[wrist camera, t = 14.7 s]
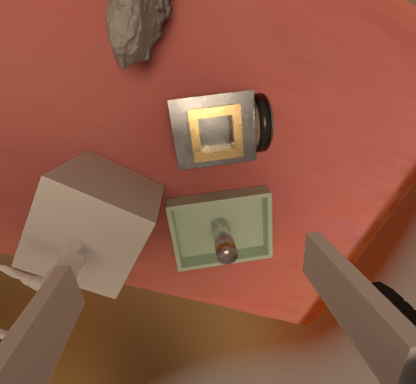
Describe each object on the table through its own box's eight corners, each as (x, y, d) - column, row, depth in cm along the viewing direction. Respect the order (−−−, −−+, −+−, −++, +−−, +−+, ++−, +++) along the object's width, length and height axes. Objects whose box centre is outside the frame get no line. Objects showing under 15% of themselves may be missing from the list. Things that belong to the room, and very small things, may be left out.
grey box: (164, 185, 45) (143, 279, 22) (128, 256, 50) (79, 392, 27) (87, 149, 41) (-39, 216, 18) (56, 230, 46) (-73, 362, 23)
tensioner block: (180, 157, 43) (178, 175, 33) (170, 99, 39) (165, 100, 30) (260, 147, 44) (281, 161, 34) (258, 89, 40) (282, 86, 30)
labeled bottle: (212, 234, 49) (217, 265, 40) (210, 219, 48) (215, 248, 38) (229, 231, 49) (238, 262, 40) (227, 216, 48) (237, 244, 39)
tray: (178, 259, 51) (178, 271, 48) (166, 198, 46) (165, 207, 42) (266, 246, 52) (272, 257, 49) (265, 185, 47) (271, 192, 43)
